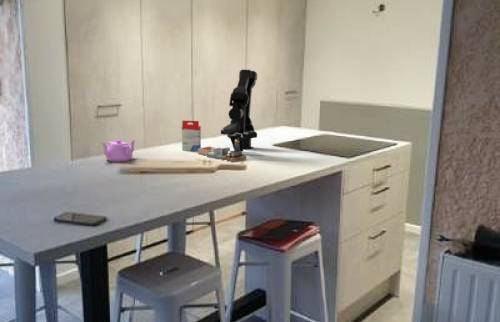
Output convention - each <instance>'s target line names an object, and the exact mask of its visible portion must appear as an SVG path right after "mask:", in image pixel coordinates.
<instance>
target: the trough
mask: <svg viewBox="0 0 500 322" xmlns="http://www.w3.org/2000/svg"><path fill="white" fill-rule="evenodd" d="M224 160H227V161H226V162H229V161H234V162H238V160H240V161H244V160H247V155H244V154H242V156H240V157H235V158H228V157H226V156H222V160H221V161H224Z"/></svg>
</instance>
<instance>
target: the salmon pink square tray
mask: <svg viewBox="0 0 500 322" xmlns="http://www.w3.org/2000/svg"><path fill="white" fill-rule="evenodd" d="M212 148H215V147H214V146H213V147H212V146H205V147H201V148H198V151H197V152H198V153H197V154H198V155H202V156H206V157H207V154H208V153H209V152H211V149H212Z"/></svg>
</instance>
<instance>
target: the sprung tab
mask: <svg viewBox="0 0 500 322" xmlns="http://www.w3.org/2000/svg"><path fill="white" fill-rule="evenodd" d="M220 148H221V149H220V155H222V156H223V155H226V154H227V152H229V151H231V147H227V146H226V147H220Z"/></svg>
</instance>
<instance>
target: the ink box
mask: <svg viewBox="0 0 500 322" xmlns="http://www.w3.org/2000/svg"><path fill="white" fill-rule="evenodd" d="M199 123H200V122H199V121H198V120H182V121H181V125H182V126H181V151H189V152H198V148H202V145H201V142H202V141H201V138H202V137H201V135H202V132H201V131H202V129H201V125H200V124H199Z"/></svg>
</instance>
